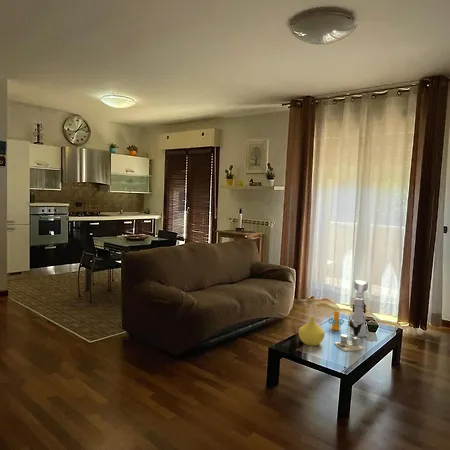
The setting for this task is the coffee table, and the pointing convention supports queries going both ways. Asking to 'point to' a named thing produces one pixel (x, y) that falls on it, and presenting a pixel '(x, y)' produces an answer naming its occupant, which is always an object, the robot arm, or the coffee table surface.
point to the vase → (311, 333)
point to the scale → (348, 346)
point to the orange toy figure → (336, 321)
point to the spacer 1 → (344, 338)
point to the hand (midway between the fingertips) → (356, 334)
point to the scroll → (353, 311)
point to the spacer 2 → (356, 341)
